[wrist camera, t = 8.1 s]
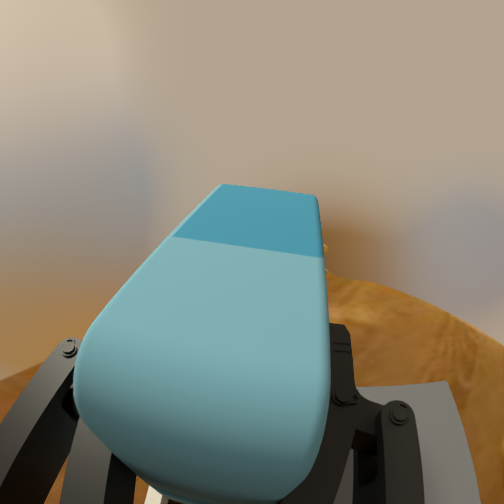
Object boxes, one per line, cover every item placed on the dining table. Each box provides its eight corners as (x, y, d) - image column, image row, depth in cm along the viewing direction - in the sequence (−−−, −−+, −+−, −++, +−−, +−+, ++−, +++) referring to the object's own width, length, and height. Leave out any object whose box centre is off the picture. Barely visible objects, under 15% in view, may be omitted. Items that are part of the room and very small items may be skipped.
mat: (443, 384, 19) (446, 380, 18) (479, 545, 4) (484, 544, 4) (321, 391, 19) (323, 386, 19) (321, 601, 4) (325, 603, 4)
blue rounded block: (256, 521, 9) (334, 462, 3) (167, 500, 9) (42, 376, 3) (284, 355, 19) (317, 186, 13) (222, 344, 20) (225, 175, 14)
